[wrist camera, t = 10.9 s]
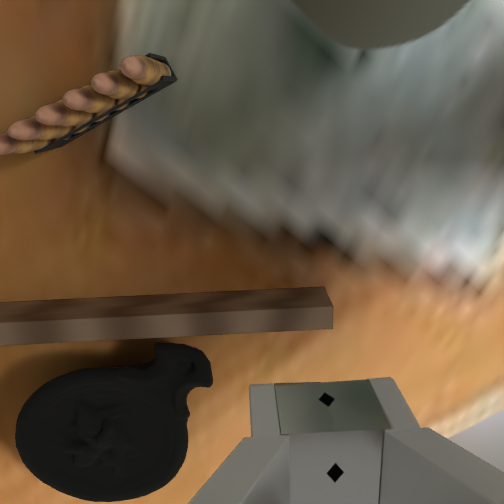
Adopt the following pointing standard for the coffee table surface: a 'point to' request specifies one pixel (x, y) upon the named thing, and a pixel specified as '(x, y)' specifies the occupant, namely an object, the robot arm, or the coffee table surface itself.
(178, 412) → the oil lamp
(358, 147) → the coffee table surface
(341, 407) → the robot arm
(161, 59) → the ammunition clip
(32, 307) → the bracket
